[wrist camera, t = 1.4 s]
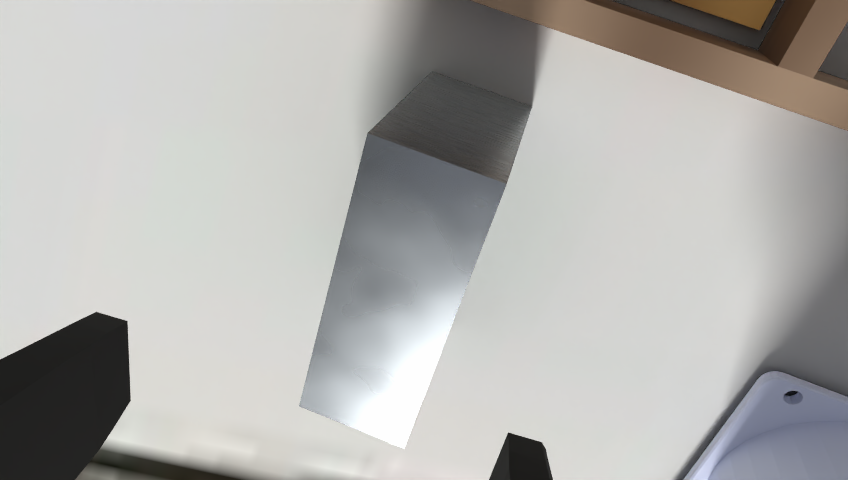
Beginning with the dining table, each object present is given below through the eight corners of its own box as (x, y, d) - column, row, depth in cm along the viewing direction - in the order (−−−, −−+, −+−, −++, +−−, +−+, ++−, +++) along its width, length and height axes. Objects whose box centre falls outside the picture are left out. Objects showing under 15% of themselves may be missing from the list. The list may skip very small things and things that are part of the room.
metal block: (532, 106, 18) (506, 184, 13) (449, 321, 22) (404, 448, 17) (433, 71, 18) (367, 132, 13) (368, 290, 22) (299, 406, 17)
